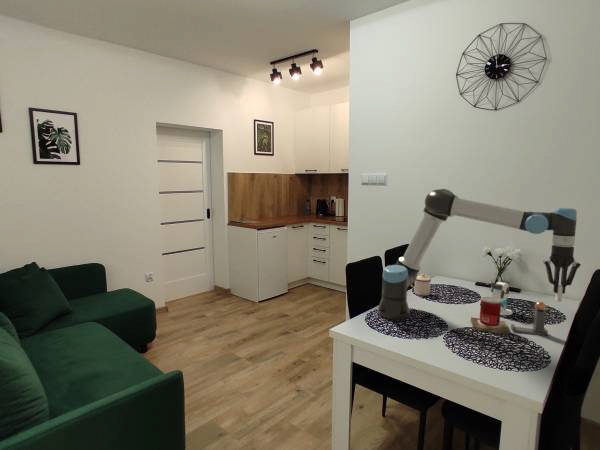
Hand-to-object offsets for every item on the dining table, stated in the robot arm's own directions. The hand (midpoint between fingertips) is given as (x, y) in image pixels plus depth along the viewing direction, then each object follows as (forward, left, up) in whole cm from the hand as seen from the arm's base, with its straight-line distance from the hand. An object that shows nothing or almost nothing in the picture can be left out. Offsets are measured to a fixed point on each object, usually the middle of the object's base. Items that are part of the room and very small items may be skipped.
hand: (558, 300), depth 155 cm
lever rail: (-10, 0, -15) cm, 18 cm away
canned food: (-25, 0, -14) cm, 29 cm away
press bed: (-25, 0, -15) cm, 30 cm away
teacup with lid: (-56, +43, -16) cm, 73 cm away
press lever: (-6, 0, -14) cm, 15 cm away
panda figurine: (-17, +25, -16) cm, 34 cm away
